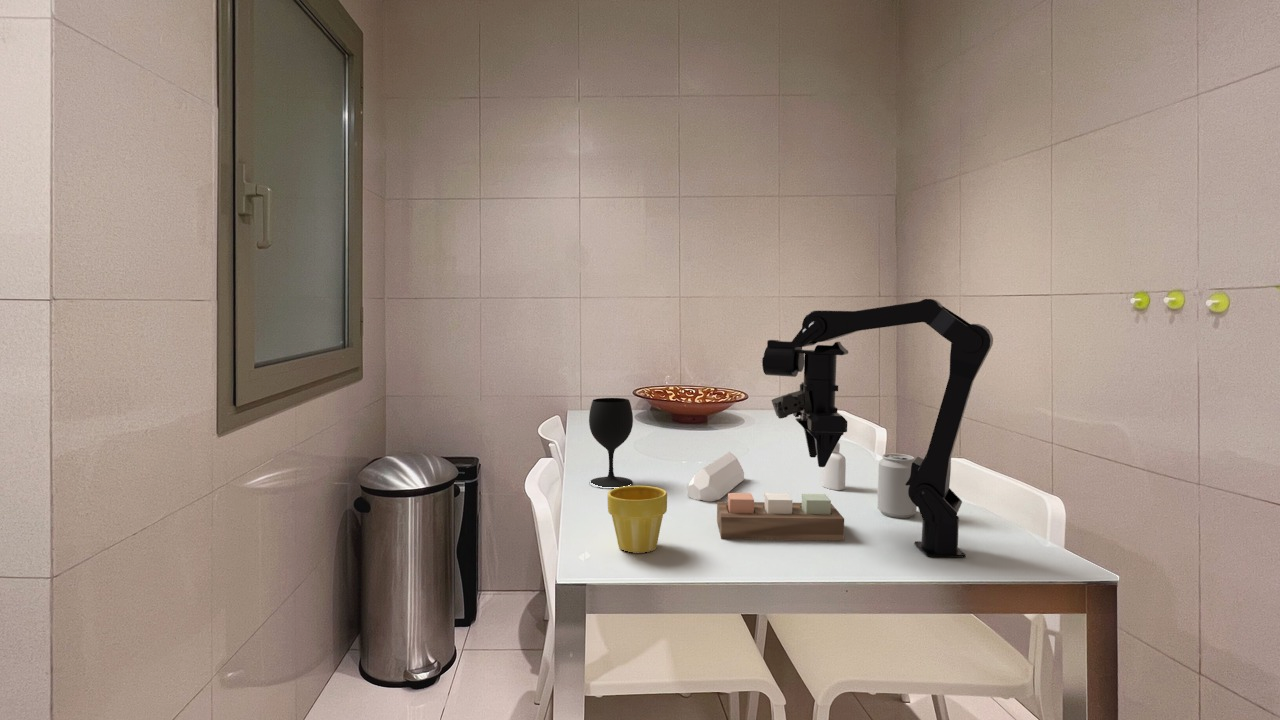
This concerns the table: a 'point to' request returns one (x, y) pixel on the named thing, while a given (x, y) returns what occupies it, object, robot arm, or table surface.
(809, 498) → the sage key
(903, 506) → the can
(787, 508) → the ivory key
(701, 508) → the table surface
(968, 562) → the table surface
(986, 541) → the table surface
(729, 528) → the key panel
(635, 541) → the plant pot
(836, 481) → the eye dropper bottle
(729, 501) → the terracotta key
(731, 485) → the crystal
